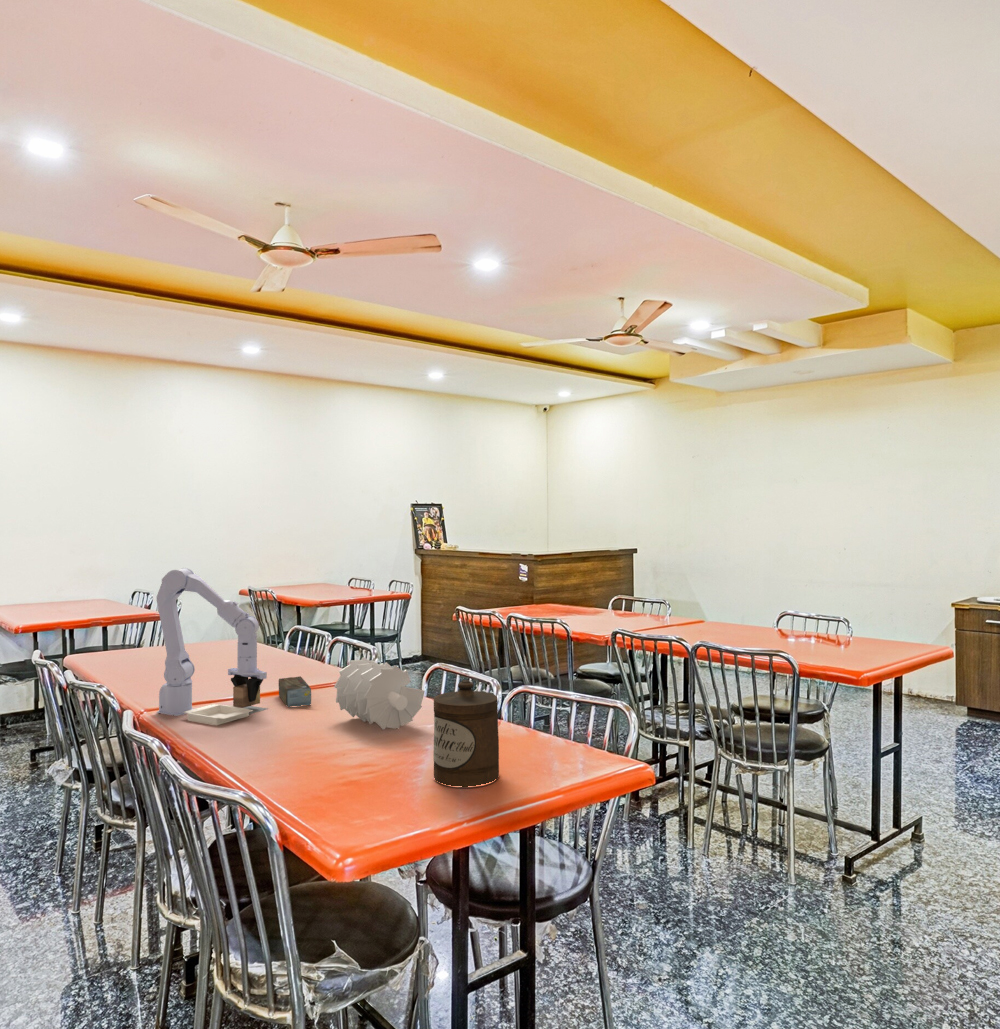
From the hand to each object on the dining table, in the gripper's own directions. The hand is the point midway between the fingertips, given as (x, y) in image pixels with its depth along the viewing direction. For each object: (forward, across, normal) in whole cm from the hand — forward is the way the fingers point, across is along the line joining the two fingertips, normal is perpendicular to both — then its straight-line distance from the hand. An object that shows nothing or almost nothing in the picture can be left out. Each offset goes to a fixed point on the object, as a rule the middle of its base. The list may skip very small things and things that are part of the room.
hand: (246, 700), depth 230 cm
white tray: (+3, 0, +11) cm, 12 cm away
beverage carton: (+4, -3, -18) cm, 19 cm away
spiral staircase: (+4, -44, -8) cm, 45 cm away
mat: (+3, 0, 0) cm, 3 cm away
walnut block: (+1, 0, 0) cm, 1 cm away
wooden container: (+4, -91, +21) cm, 93 cm away
